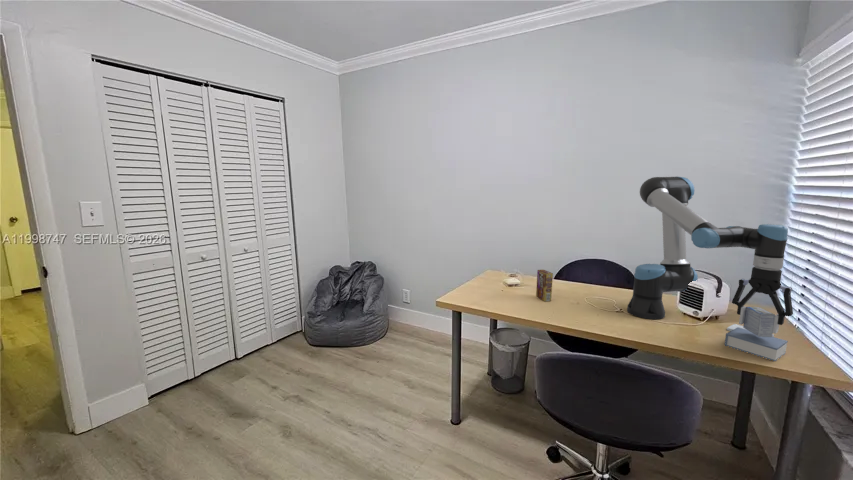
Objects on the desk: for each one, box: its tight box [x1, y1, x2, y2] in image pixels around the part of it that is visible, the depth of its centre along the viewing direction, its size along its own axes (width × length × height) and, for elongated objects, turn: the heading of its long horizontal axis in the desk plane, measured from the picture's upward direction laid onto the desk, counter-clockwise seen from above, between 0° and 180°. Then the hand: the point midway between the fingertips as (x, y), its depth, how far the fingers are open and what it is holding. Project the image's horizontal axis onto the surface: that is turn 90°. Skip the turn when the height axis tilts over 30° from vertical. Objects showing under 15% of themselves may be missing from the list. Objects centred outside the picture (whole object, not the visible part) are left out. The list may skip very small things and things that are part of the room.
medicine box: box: [742, 306, 776, 337], centre depth 125 cm, size 8×4×9 cm, turn 168°
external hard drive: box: [726, 323, 775, 337], centre depth 140 cm, size 2×8×12 cm
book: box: [724, 327, 788, 362], centre depth 126 cm, size 14×11×5 cm
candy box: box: [535, 269, 554, 302], centre depth 183 cm, size 9×4×15 cm, turn 13°
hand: (757, 327), depth 125 cm, fingers closed on medicine box, 9 cm apart
